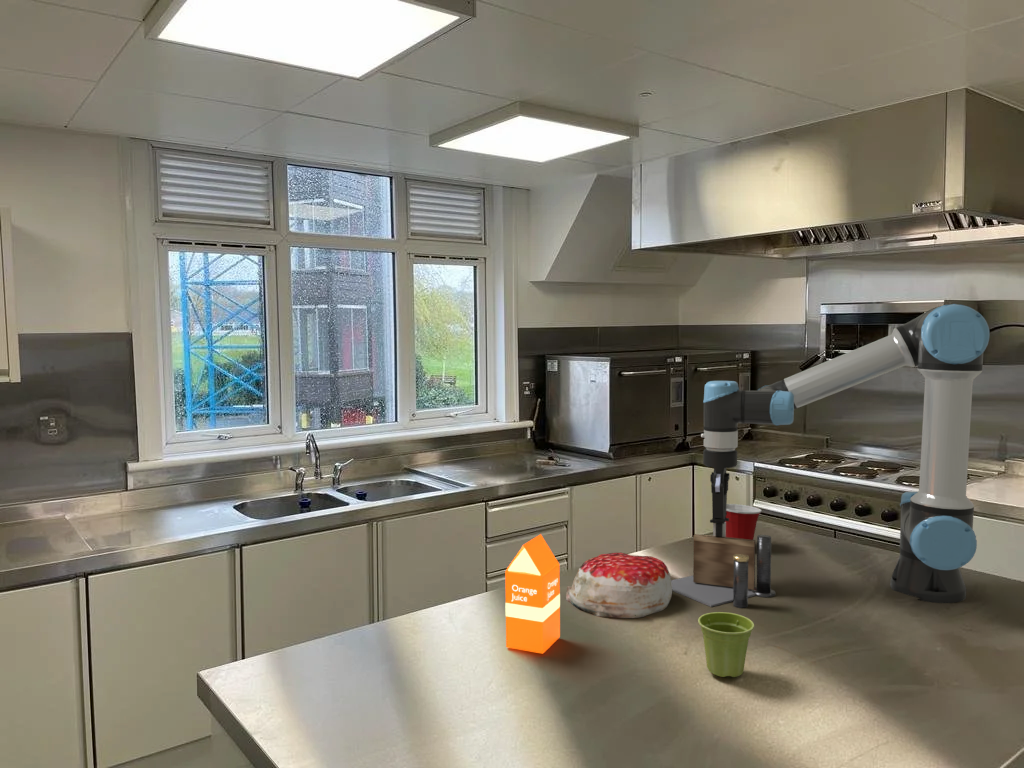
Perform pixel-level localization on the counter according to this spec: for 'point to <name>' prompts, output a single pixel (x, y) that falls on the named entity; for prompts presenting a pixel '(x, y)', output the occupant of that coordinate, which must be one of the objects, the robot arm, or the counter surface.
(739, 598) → the salt and pepper shakers
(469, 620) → the counter surface
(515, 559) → the orange juice
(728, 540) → the gate
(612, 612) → the strawberry shortcake
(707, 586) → the rubber mat
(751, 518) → the plastic cup
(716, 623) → the plant pot
